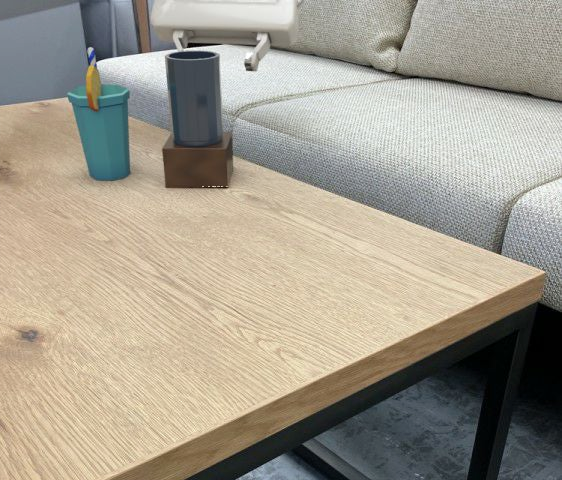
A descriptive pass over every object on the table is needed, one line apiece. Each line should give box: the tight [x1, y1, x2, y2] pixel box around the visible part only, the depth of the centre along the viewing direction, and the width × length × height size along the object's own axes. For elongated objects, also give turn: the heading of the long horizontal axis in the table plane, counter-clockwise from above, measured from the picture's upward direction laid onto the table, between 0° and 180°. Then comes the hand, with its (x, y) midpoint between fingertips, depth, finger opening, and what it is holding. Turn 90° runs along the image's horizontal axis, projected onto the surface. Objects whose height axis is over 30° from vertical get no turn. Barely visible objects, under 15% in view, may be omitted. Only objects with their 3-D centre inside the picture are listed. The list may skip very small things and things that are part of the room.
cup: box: [66, 46, 131, 181], centre depth 91 cm, size 14×8×15 cm, turn 17°
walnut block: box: [161, 131, 234, 188], centre depth 91 cm, size 8×8×5 cm
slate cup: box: [164, 50, 224, 146], centre depth 87 cm, size 6×6×10 cm
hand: (216, 67), depth 94 cm, fingers open, 8 cm apart
